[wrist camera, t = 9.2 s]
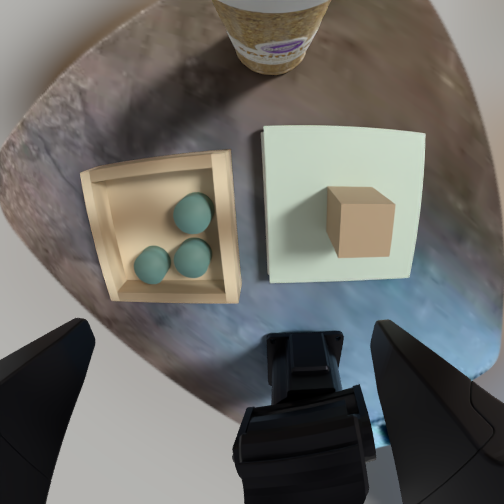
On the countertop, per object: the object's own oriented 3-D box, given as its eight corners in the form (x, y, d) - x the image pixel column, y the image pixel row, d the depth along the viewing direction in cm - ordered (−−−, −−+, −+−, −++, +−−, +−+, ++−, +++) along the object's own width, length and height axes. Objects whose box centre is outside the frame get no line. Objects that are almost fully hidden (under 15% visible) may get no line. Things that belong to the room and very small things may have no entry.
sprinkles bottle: (256, 87, 17) (226, 18, 4) (222, 33, 15) (143, -83, 3) (320, 59, 16) (406, -36, 3) (285, 4, 14) (301, -133, 2)
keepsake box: (241, 284, 23) (238, 303, 20) (123, 284, 23) (111, 300, 21) (230, 149, 18) (224, 153, 16) (98, 165, 19) (79, 172, 17)
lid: (405, 272, 21) (430, 307, 17) (269, 277, 22) (269, 317, 17) (419, 132, 17) (458, 139, 12) (263, 126, 17) (261, 127, 13)
